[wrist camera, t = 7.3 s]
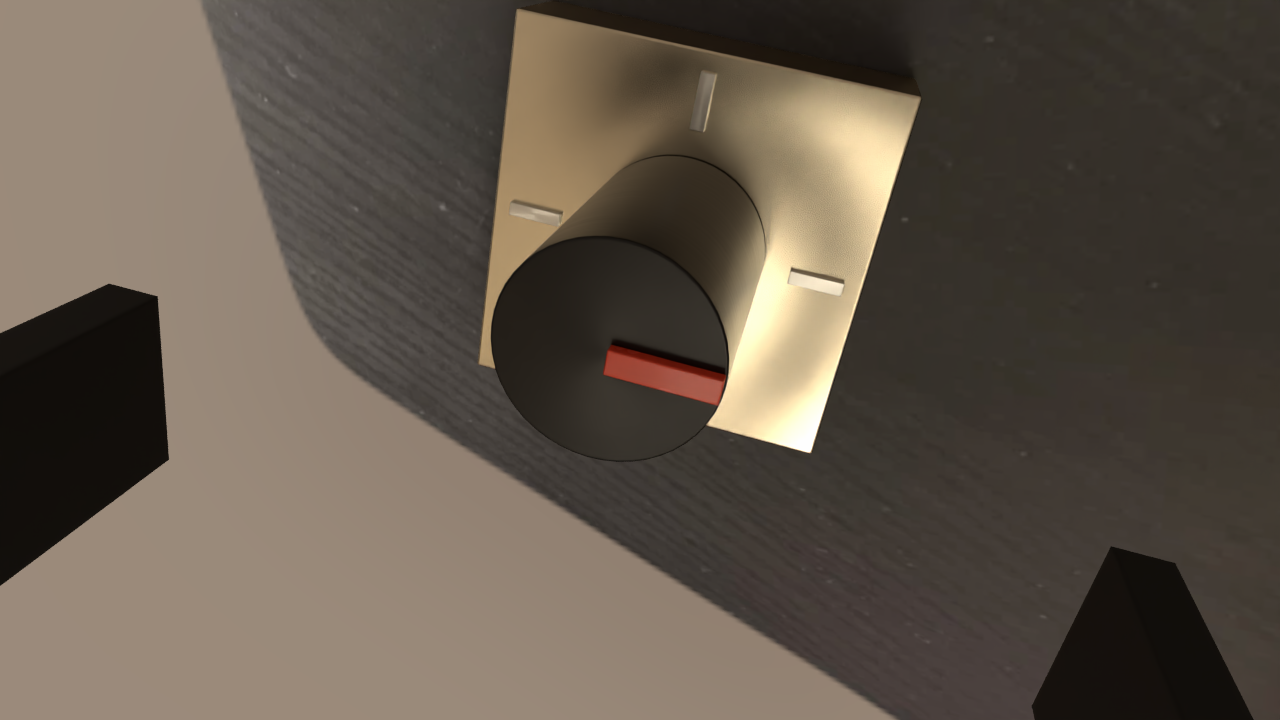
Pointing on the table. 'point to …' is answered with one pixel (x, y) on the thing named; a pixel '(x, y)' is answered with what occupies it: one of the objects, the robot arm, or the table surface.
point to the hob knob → (632, 311)
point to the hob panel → (734, 144)
